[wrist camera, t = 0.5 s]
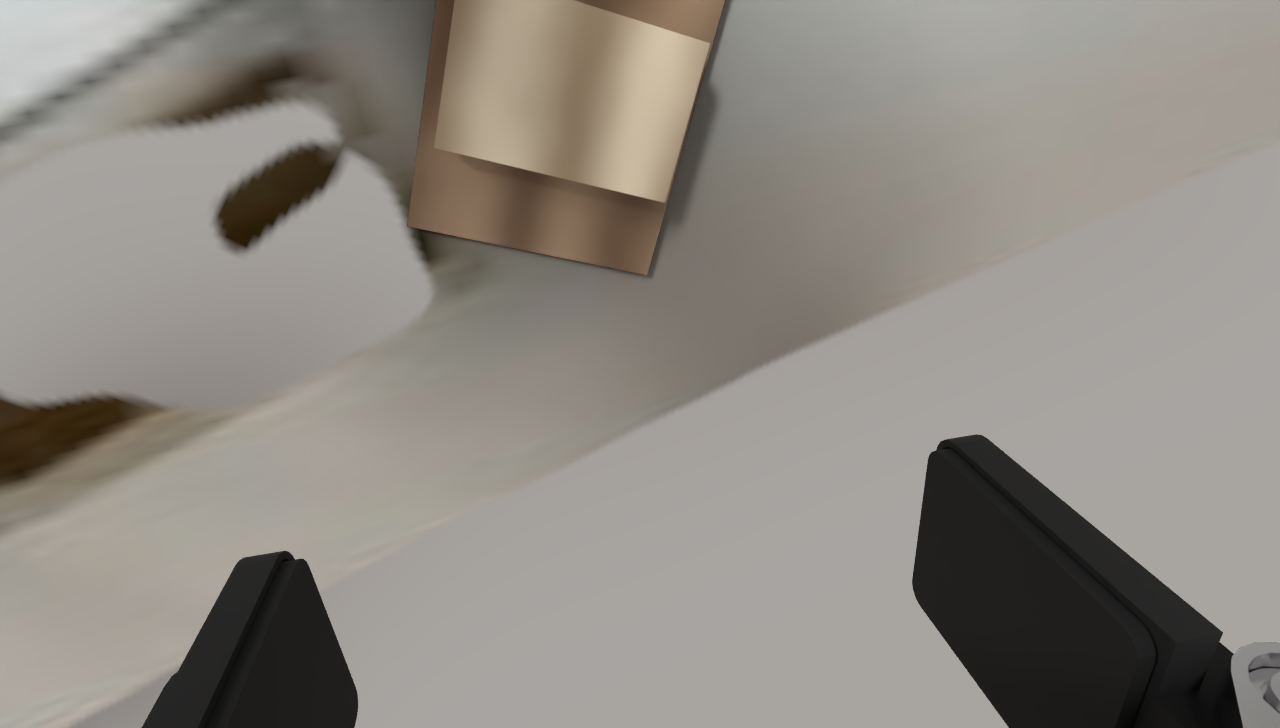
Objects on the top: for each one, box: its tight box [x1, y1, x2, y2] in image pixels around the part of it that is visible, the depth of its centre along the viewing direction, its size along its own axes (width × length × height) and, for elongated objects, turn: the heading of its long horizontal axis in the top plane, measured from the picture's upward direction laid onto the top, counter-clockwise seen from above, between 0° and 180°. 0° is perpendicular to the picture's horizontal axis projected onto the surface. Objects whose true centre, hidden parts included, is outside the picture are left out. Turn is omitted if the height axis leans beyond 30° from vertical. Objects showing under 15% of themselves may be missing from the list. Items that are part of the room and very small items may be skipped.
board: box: [407, 0, 725, 275], centre depth 31 cm, size 14×26×7 cm, turn 164°
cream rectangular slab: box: [434, 0, 710, 203], centre depth 34 cm, size 12×8×3 cm, turn 74°
